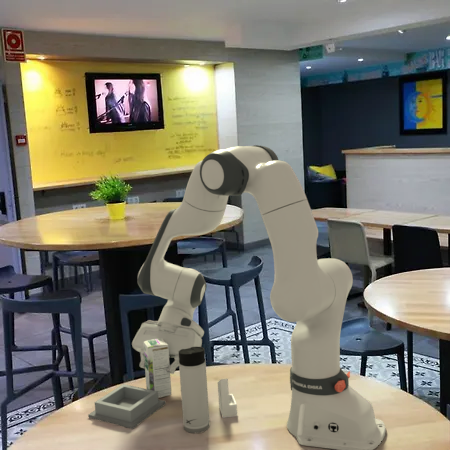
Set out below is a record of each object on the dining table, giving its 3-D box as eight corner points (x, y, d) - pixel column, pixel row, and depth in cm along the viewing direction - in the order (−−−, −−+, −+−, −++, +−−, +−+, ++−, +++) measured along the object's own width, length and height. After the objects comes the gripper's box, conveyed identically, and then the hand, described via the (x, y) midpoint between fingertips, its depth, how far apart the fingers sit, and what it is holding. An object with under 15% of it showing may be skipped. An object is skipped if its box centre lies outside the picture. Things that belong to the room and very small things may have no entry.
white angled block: (225, 416, 141) (220, 379, 144) (220, 418, 150) (216, 383, 153) (240, 414, 141) (235, 377, 144) (234, 417, 150) (230, 382, 153)
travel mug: (189, 436, 137) (183, 355, 134) (180, 424, 143) (174, 346, 140) (214, 430, 140) (209, 350, 136) (204, 418, 146) (198, 341, 142)
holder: (165, 403, 154) (164, 390, 154) (132, 428, 142) (131, 414, 142) (123, 394, 161) (122, 381, 160) (88, 417, 149) (87, 403, 148)
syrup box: (146, 391, 162) (141, 341, 159) (166, 386, 164) (162, 337, 161) (151, 399, 156) (147, 348, 154) (172, 395, 158) (168, 343, 156)
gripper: (138, 314, 168) (119, 359, 161) (199, 322, 158) (182, 371, 151) (149, 324, 172) (131, 368, 166) (209, 333, 162) (192, 380, 156)
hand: (156, 370), depth 158 cm, fingers closed on syrup box, 8 cm apart
